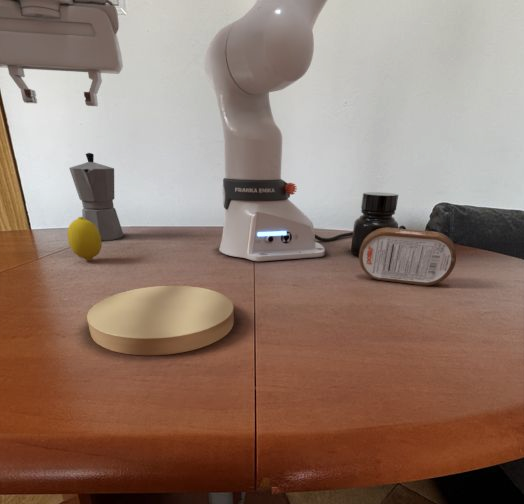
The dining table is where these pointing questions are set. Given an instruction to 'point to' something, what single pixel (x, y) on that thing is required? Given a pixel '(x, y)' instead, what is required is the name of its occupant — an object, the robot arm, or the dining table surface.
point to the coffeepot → (97, 197)
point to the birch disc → (160, 320)
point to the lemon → (84, 238)
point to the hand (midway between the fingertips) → (61, 104)
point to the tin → (407, 256)
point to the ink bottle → (373, 217)
